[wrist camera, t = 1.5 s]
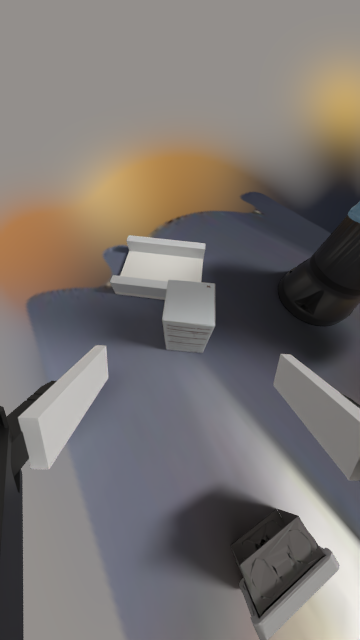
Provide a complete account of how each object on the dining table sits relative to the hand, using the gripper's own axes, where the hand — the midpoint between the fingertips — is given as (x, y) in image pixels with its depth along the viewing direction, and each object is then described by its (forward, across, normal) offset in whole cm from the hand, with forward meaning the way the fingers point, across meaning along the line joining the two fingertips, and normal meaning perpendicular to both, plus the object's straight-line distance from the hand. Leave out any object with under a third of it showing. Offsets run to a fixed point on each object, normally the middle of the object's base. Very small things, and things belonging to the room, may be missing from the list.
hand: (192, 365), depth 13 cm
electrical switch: (+2, +10, -26) cm, 28 cm away
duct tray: (+33, -6, +5) cm, 34 cm away
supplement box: (+22, 0, -6) cm, 23 cm away
